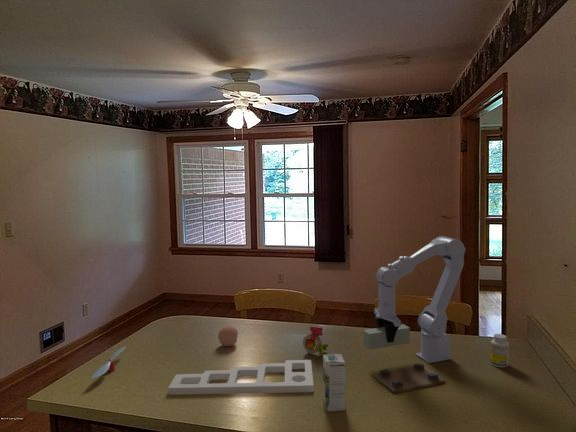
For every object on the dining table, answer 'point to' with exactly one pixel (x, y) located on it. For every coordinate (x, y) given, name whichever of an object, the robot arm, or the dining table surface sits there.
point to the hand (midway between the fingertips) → (387, 339)
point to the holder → (202, 386)
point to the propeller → (108, 365)
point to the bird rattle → (311, 343)
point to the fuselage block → (379, 339)
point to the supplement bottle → (500, 351)
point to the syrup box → (333, 382)
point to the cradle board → (408, 378)
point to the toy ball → (228, 336)
